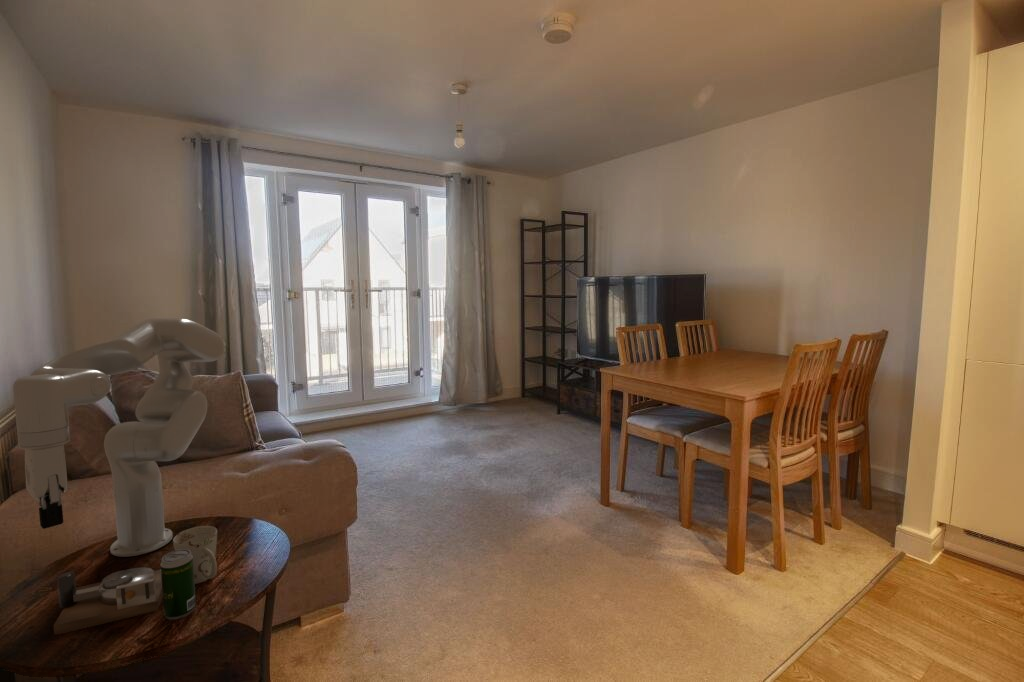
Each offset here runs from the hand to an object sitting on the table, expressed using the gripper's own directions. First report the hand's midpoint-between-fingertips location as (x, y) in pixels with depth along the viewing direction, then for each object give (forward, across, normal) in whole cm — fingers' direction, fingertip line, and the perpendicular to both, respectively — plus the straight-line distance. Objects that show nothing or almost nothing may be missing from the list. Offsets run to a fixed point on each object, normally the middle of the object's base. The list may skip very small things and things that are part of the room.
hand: (52, 525), depth 99 cm
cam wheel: (+15, +9, +6) cm, 18 cm away
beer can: (+17, +22, +14) cm, 32 cm away
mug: (+17, +14, +22) cm, 31 cm away
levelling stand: (+17, +9, +7) cm, 21 cm away
